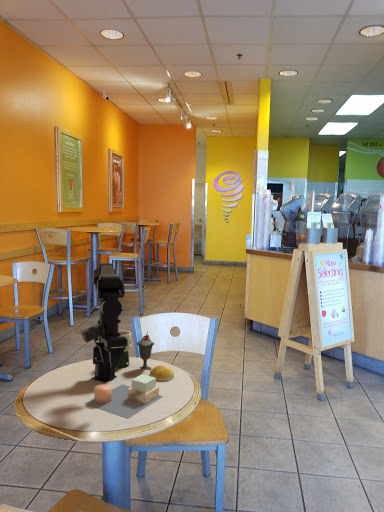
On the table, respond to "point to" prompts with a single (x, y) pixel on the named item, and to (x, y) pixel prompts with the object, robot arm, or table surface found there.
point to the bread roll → (162, 373)
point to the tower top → (143, 383)
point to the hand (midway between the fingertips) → (109, 367)
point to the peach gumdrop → (102, 394)
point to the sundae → (145, 350)
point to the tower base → (143, 395)
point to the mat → (122, 403)
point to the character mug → (125, 355)
